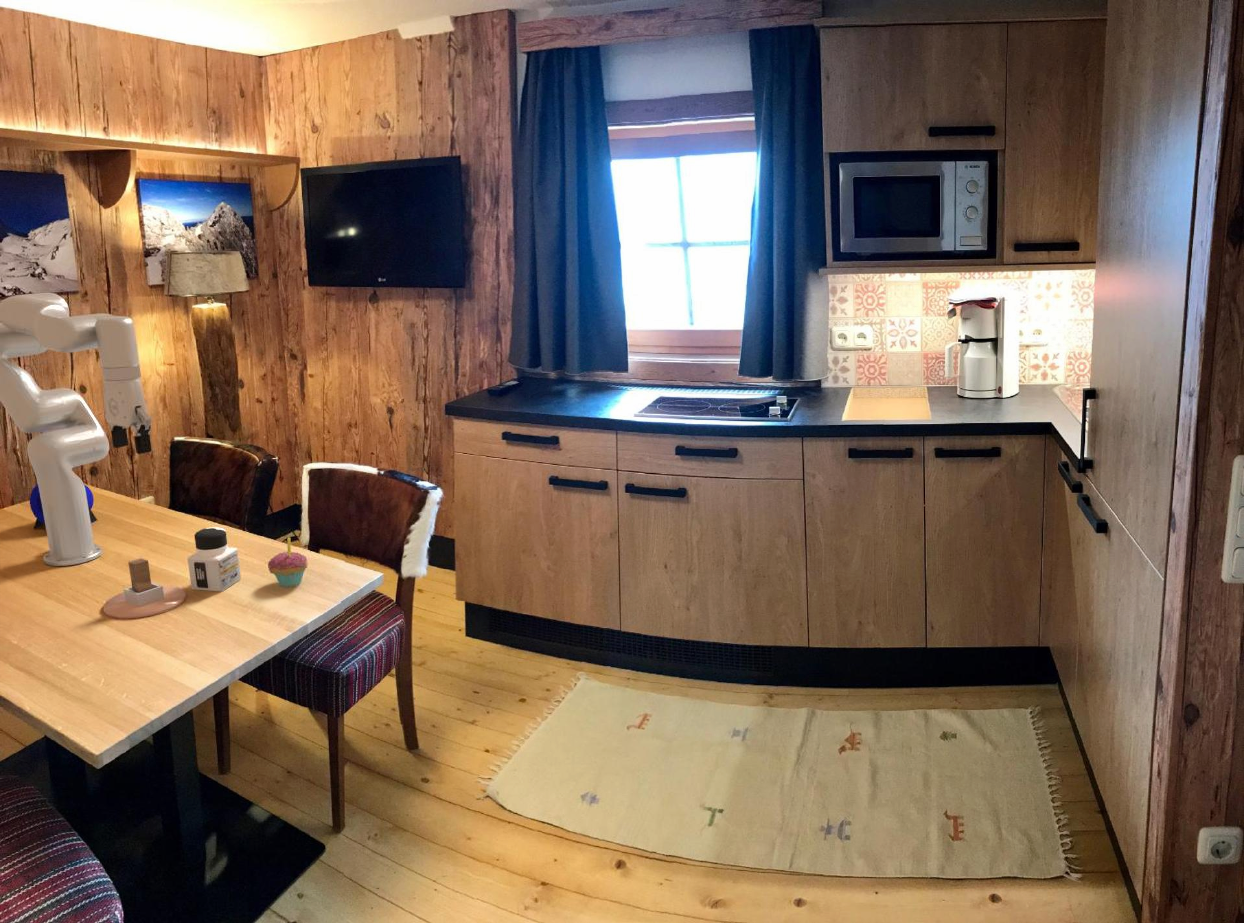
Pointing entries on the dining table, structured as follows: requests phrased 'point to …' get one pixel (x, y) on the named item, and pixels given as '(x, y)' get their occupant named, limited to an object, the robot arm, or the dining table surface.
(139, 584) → the wooden square post
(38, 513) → the alarm clock
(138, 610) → the clip base
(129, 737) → the dining table surface
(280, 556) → the cupcake
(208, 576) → the container
